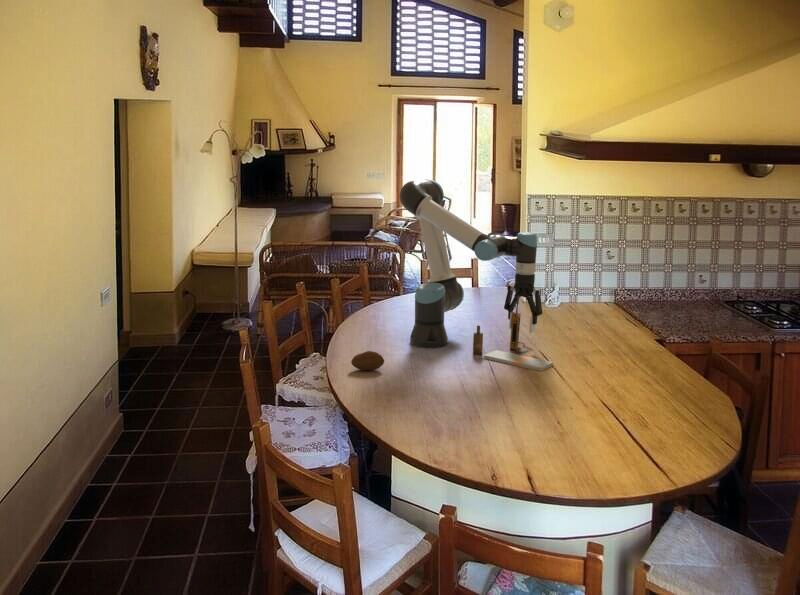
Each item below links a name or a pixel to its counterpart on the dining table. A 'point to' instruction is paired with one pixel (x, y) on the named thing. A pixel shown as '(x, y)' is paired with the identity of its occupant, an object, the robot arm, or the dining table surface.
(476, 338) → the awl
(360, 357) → the potato
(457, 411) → the dining table surface
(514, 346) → the multimeter
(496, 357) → the panel
